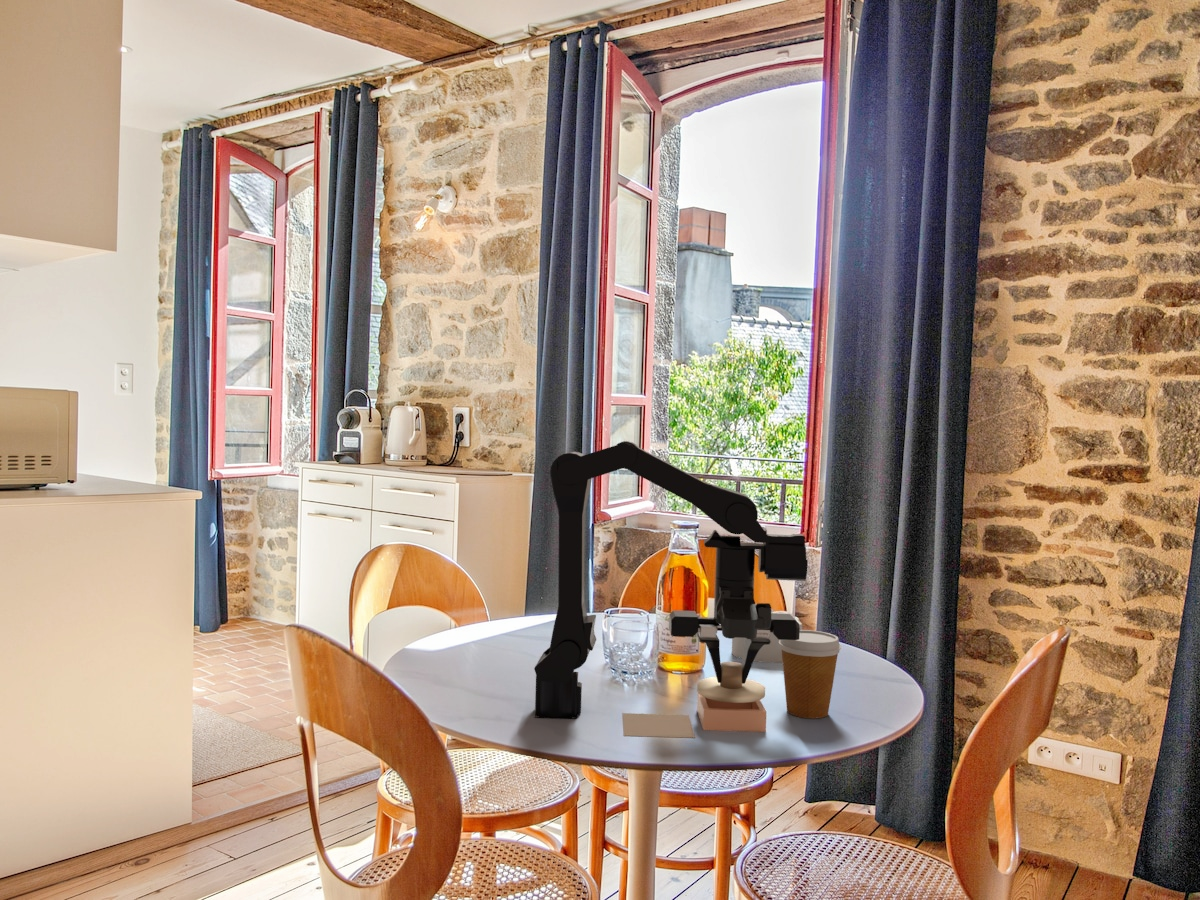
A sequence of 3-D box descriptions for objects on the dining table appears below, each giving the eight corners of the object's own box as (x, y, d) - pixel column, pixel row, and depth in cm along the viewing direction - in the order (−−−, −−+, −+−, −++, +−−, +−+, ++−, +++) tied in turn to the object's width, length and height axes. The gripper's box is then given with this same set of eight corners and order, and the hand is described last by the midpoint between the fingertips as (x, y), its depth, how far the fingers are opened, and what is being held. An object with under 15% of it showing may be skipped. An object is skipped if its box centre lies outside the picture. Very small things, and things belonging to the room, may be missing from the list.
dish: (703, 733, 133) (703, 709, 133) (696, 714, 142) (697, 691, 142) (765, 735, 133) (766, 711, 133) (755, 715, 142) (756, 693, 142)
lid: (700, 701, 132) (701, 672, 132) (694, 682, 142) (694, 654, 142) (770, 703, 132) (771, 674, 132) (759, 684, 142) (760, 657, 142)
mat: (623, 739, 130) (623, 735, 130) (622, 717, 140) (622, 713, 140) (695, 741, 130) (695, 737, 130) (688, 719, 140) (688, 715, 140)
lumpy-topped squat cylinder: (802, 664, 174) (804, 618, 174) (733, 660, 175) (734, 615, 175) (796, 650, 184) (797, 607, 184) (730, 647, 186) (731, 604, 185)
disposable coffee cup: (794, 699, 151) (796, 626, 151) (849, 712, 145) (851, 636, 145) (765, 712, 144) (767, 635, 143) (821, 726, 138) (824, 646, 137)
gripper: (675, 585, 129) (672, 696, 129) (809, 589, 129) (805, 700, 129) (670, 572, 140) (666, 675, 140) (793, 576, 140) (789, 678, 140)
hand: (731, 682), depth 137 cm, fingers closed on lid, 3 cm apart
